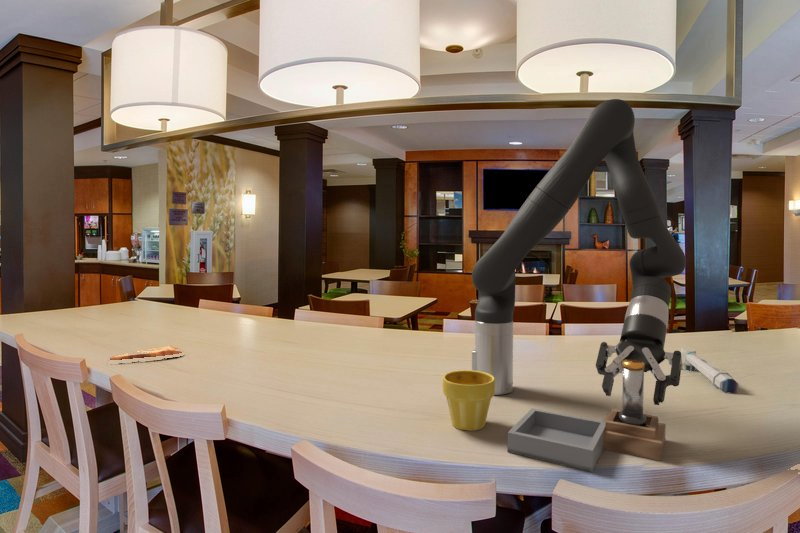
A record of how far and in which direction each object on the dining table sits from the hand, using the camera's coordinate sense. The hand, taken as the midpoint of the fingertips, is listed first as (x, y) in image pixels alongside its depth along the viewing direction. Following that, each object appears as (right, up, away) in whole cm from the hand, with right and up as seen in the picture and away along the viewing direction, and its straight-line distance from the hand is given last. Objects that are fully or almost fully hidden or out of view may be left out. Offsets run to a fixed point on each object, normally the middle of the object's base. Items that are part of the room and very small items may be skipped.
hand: (631, 398), depth 85 cm
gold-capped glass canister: (+1, -6, +1) cm, 6 cm away
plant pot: (-27, -9, +11) cm, 31 cm away
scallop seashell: (-122, -7, +68) cm, 139 cm away
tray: (-13, -9, +1) cm, 15 cm away
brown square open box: (+1, -9, +2) cm, 9 cm away
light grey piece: (+40, -7, +42) cm, 58 cm away
